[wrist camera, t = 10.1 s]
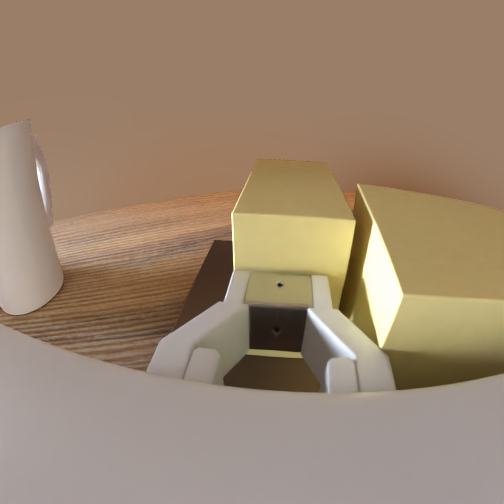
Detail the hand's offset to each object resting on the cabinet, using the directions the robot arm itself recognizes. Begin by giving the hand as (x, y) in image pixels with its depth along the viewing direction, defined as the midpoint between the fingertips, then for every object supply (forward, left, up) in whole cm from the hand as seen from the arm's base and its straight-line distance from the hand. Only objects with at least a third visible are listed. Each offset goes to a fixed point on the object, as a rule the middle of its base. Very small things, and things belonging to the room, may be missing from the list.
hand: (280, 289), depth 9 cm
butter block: (-7, 0, -3) cm, 7 cm away
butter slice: (0, -4, -3) cm, 5 cm away
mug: (+19, -5, -6) cm, 20 cm away
